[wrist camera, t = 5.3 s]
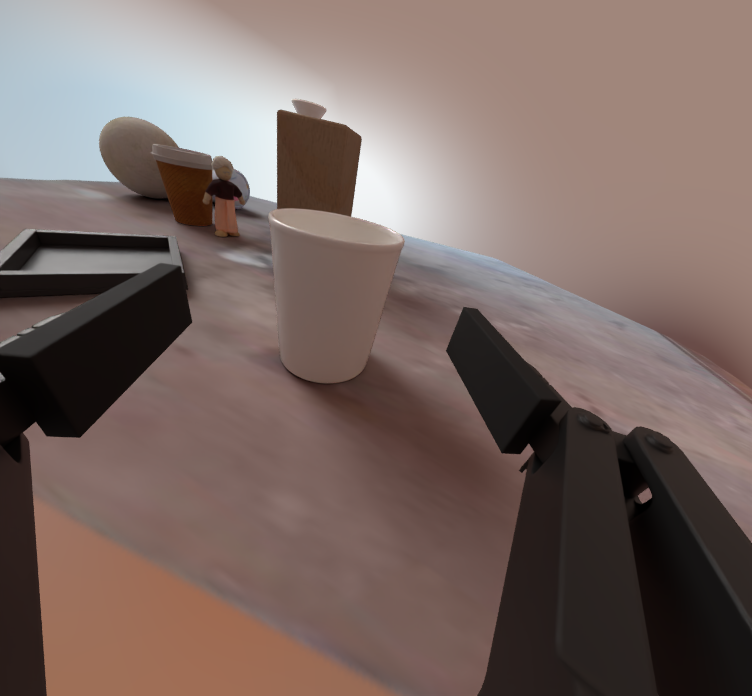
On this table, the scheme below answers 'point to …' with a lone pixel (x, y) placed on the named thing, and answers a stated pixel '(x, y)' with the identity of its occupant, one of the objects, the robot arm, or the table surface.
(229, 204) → the grandmother figurine
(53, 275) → the black tray
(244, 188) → the pencil case
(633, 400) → the table surface
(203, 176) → the disposable coffee cup
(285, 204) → the wooden block
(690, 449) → the table surface
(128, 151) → the decorative sphere
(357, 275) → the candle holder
